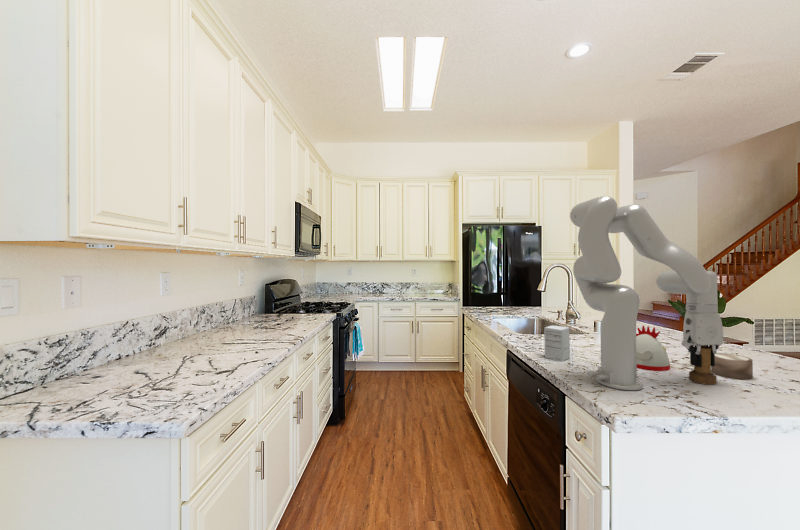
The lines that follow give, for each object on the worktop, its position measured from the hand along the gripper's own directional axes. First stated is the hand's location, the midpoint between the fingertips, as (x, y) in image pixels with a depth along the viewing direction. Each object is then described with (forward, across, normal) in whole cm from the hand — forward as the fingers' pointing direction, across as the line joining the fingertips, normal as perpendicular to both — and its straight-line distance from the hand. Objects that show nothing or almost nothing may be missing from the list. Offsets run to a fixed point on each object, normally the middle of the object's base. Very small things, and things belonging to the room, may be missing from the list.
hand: (702, 364), depth 106 cm
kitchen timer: (+6, -3, +18) cm, 19 cm away
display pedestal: (+5, +16, +4) cm, 17 cm away
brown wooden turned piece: (+5, 0, 0) cm, 5 cm away
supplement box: (+6, -30, +32) cm, 44 cm away
